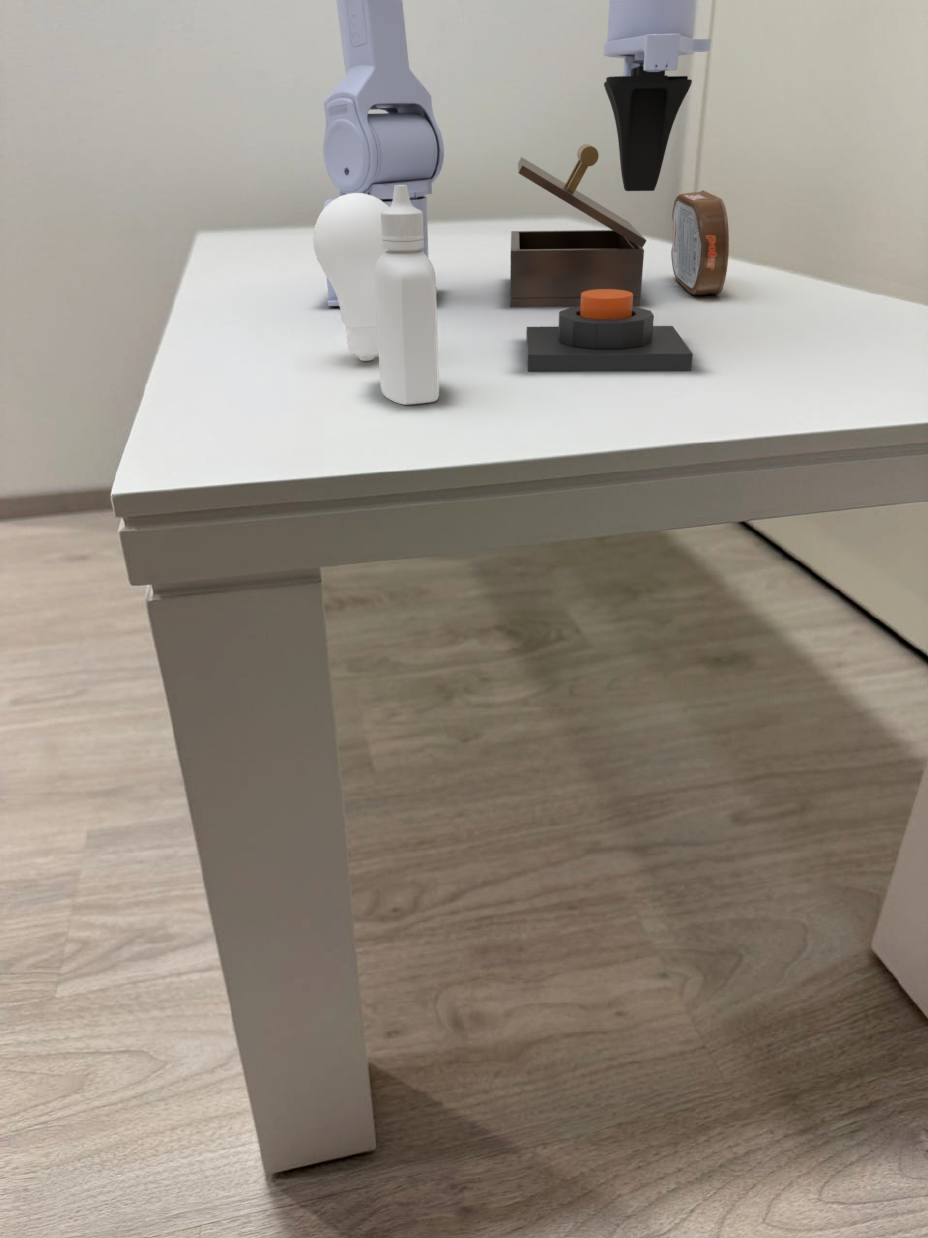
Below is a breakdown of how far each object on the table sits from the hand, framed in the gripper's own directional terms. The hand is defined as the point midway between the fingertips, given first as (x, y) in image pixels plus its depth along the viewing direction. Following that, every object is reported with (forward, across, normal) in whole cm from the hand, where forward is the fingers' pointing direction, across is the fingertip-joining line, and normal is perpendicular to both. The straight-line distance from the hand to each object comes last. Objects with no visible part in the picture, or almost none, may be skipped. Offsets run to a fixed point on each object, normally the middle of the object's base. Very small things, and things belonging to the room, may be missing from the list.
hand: (639, 190), depth 67 cm
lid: (+2, +20, +3) cm, 20 cm away
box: (+10, +20, +4) cm, 22 cm away
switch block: (+10, -6, +2) cm, 12 cm away
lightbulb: (+11, -8, +20) cm, 23 cm away
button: (+8, -6, +3) cm, 10 cm away
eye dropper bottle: (+11, -16, +15) cm, 25 cm away
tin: (+11, +22, -8) cm, 25 cm away
